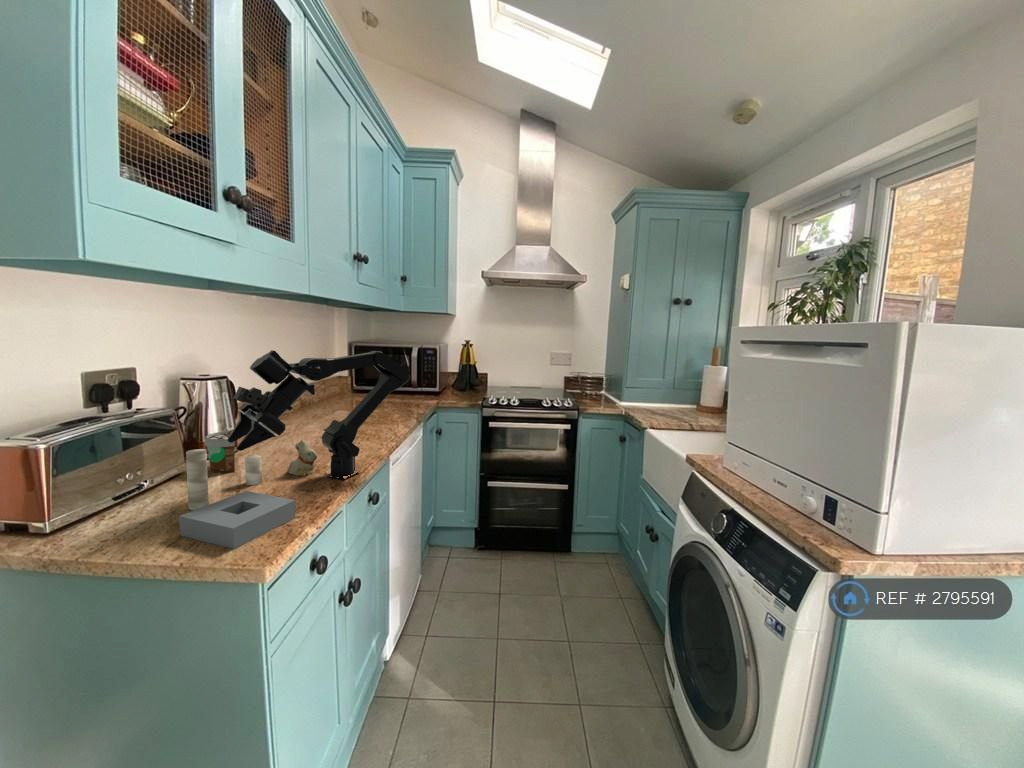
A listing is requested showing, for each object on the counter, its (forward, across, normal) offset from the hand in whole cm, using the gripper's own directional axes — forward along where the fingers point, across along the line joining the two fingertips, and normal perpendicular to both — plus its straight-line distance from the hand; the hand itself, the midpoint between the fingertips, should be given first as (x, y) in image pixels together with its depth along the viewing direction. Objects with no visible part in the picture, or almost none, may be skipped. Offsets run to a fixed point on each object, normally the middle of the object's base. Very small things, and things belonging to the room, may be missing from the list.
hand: (233, 445), depth 93 cm
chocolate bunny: (-3, -9, +22) cm, 24 cm away
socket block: (+11, +17, +8) cm, 21 cm away
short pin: (+5, -9, +14) cm, 17 cm away
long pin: (+14, 0, +4) cm, 15 cm away
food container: (+8, -27, +10) cm, 30 cm away
